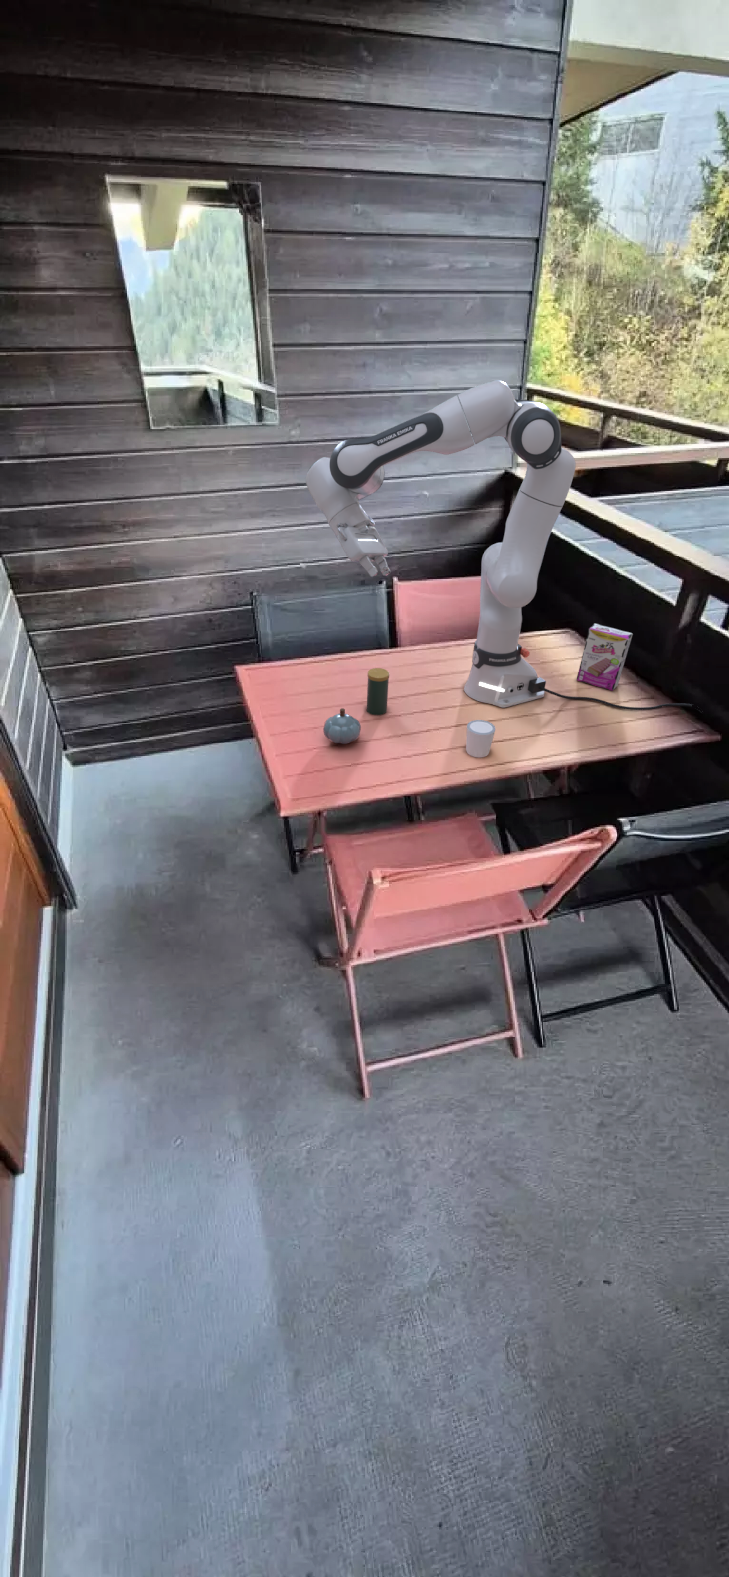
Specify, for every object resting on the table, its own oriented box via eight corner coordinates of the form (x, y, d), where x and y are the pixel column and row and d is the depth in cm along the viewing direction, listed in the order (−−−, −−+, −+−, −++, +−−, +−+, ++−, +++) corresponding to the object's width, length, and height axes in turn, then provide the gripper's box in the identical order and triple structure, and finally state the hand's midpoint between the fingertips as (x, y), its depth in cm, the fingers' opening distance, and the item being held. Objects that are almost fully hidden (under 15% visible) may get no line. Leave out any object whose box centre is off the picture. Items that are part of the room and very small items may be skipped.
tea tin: (383, 703, 189) (385, 666, 183) (390, 714, 185) (392, 676, 179) (363, 706, 188) (364, 669, 181) (369, 716, 184) (371, 679, 177)
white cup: (490, 760, 169) (494, 736, 165) (462, 756, 170) (465, 732, 166) (492, 745, 174) (496, 721, 170) (464, 741, 175) (468, 717, 171)
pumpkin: (354, 728, 179) (355, 697, 174) (365, 747, 172) (366, 716, 166) (319, 732, 176) (318, 702, 171) (328, 753, 169) (328, 721, 164)
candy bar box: (575, 681, 203) (588, 628, 194) (581, 674, 207) (593, 622, 197) (613, 692, 199) (628, 638, 189) (618, 685, 202) (633, 632, 192)
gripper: (345, 514, 158) (377, 567, 159) (374, 519, 176) (403, 566, 177) (324, 531, 161) (356, 583, 162) (355, 534, 179) (384, 581, 180)
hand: (381, 574), depth 169 cm, fingers open, 8 cm apart
